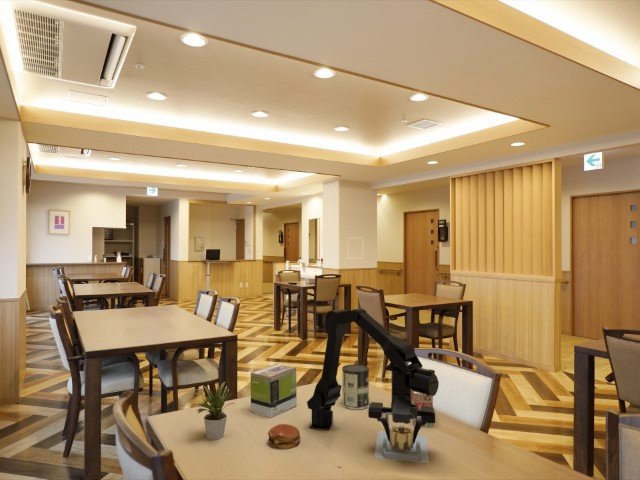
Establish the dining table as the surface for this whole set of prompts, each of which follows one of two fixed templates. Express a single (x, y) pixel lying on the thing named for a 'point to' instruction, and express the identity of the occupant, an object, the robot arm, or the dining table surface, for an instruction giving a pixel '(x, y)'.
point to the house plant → (214, 413)
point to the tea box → (273, 390)
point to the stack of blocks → (422, 403)
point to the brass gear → (401, 438)
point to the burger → (284, 436)
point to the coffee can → (355, 386)
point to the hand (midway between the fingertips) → (401, 442)
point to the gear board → (415, 454)
